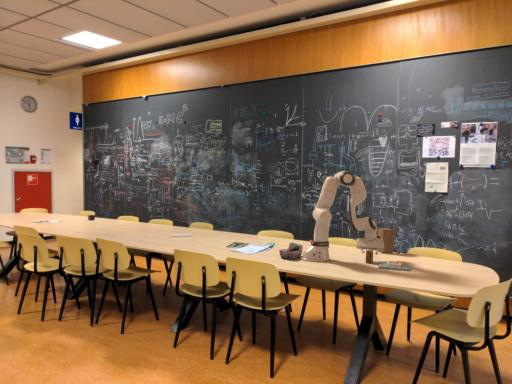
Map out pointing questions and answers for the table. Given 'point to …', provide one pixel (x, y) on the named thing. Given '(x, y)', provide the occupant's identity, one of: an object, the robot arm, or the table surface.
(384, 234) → the block
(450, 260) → the table surface
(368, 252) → the pillar
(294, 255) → the cell model
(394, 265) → the board
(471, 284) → the table surface
